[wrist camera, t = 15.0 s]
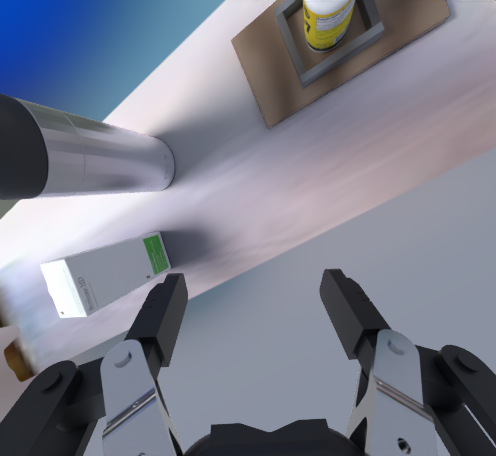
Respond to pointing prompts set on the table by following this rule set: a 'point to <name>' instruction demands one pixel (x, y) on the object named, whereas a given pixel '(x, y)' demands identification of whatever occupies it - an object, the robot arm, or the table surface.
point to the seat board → (329, 63)
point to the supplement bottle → (326, 23)
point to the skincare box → (104, 274)
